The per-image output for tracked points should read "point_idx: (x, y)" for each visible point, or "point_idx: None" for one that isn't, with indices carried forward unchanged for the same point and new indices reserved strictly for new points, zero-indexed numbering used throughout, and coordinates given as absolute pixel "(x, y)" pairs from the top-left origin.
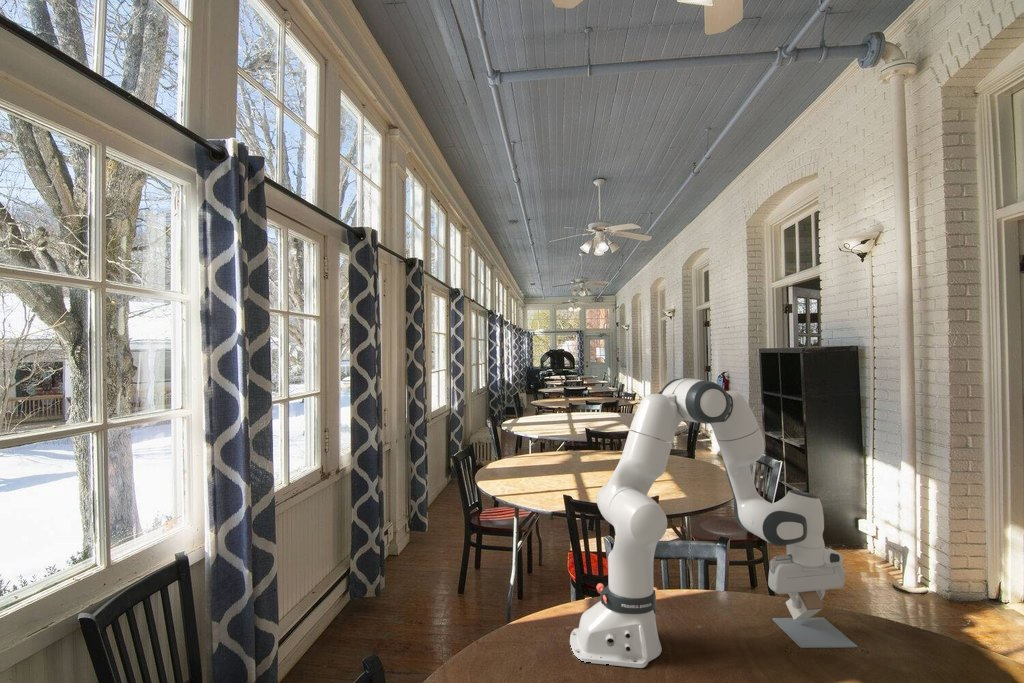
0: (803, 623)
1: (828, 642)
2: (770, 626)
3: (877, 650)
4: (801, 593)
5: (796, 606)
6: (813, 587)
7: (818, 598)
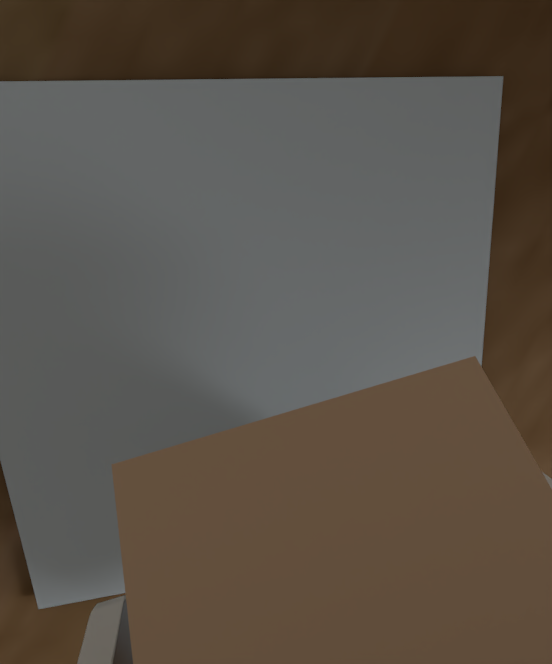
0: None
1: (203, 160)
2: (521, 426)
3: None
4: None
5: (549, 480)
6: None
7: None
